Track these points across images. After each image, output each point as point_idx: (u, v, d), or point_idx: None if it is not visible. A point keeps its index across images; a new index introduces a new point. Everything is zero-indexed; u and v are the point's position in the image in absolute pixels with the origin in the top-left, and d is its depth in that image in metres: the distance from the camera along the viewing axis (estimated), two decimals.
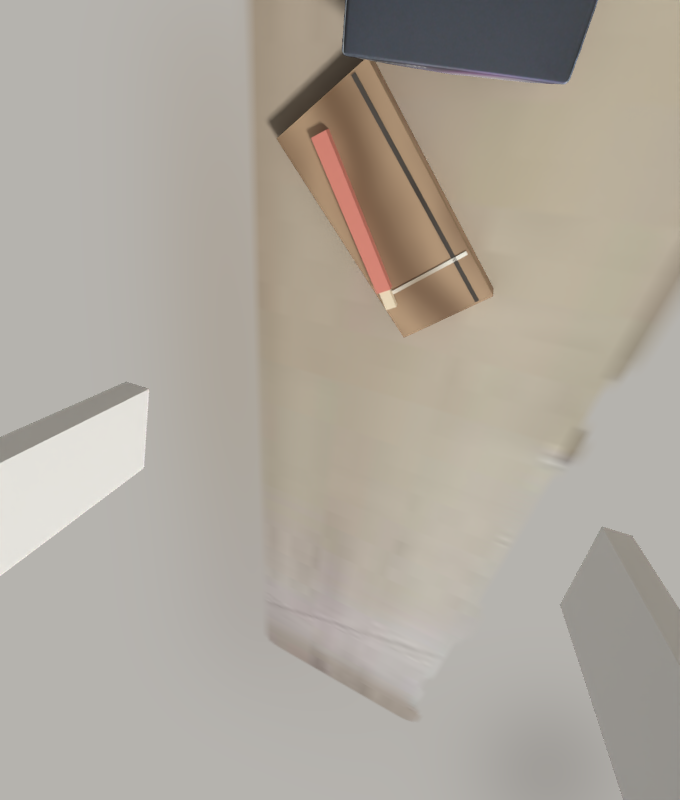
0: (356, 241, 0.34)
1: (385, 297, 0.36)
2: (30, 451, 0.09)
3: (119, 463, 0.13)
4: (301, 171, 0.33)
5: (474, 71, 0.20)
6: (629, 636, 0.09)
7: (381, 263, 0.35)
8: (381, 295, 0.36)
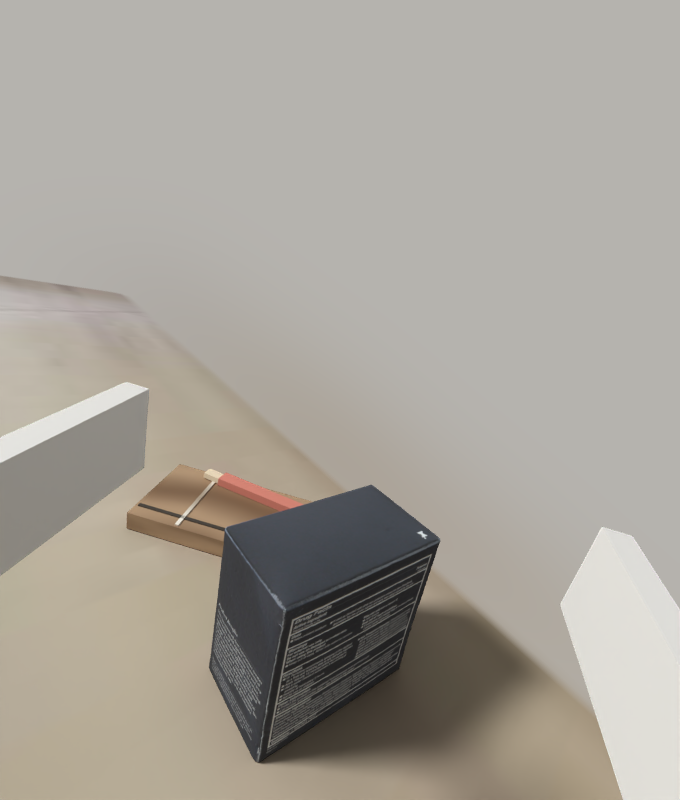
0: (267, 490, 0.40)
1: (217, 474, 0.41)
2: (30, 451, 0.09)
3: (119, 463, 0.13)
4: None
5: (291, 508, 0.25)
6: (629, 637, 0.09)
7: (238, 490, 0.40)
8: (221, 474, 0.41)
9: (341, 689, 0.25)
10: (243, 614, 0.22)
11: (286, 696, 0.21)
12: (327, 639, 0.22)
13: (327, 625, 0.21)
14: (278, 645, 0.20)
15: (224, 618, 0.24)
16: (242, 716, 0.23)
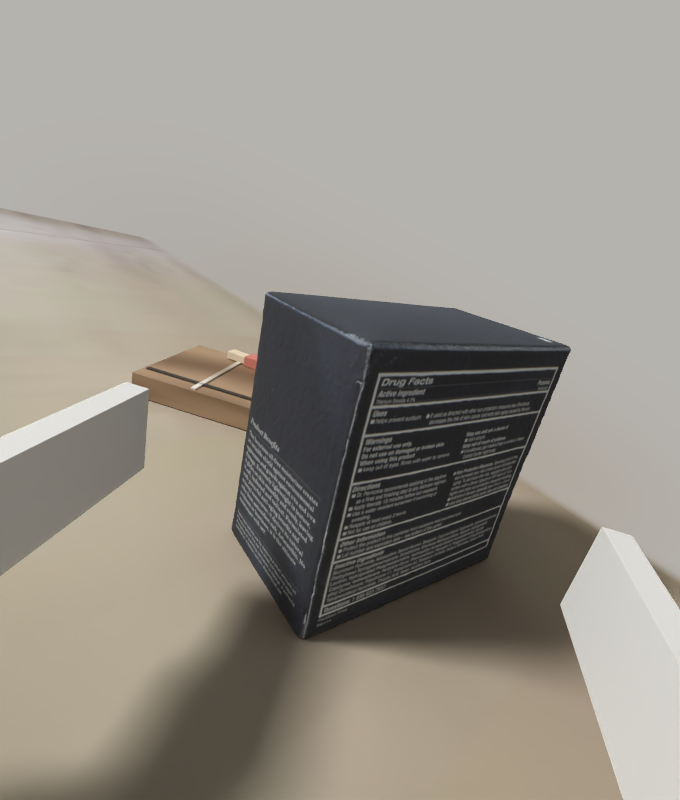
0: None
1: (244, 354, 0.34)
2: (30, 451, 0.09)
3: (119, 463, 0.13)
4: None
5: (356, 300, 0.18)
6: (628, 637, 0.09)
7: None
8: (248, 354, 0.34)
9: (422, 555, 0.17)
10: (292, 405, 0.14)
11: (353, 531, 0.14)
12: (418, 448, 0.14)
13: (422, 417, 0.14)
14: (353, 422, 0.12)
15: (259, 435, 0.16)
16: (281, 576, 0.16)
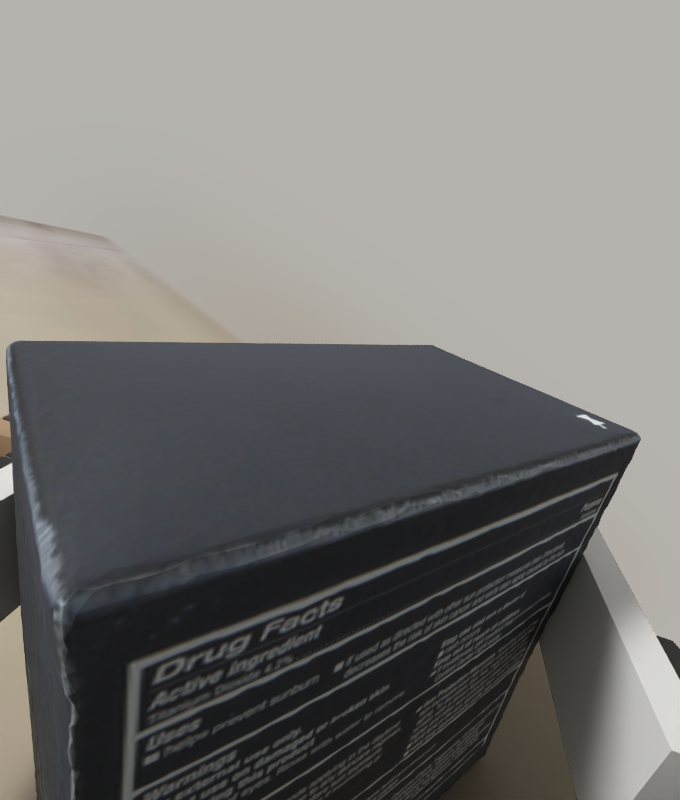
0: None
1: None
2: None
3: None
4: None
5: None
6: (575, 598, 0.10)
7: None
8: None
9: None
10: (28, 619, 0.06)
11: None
12: (323, 726, 0.06)
13: (323, 676, 0.05)
14: (72, 790, 0.04)
15: None
16: None
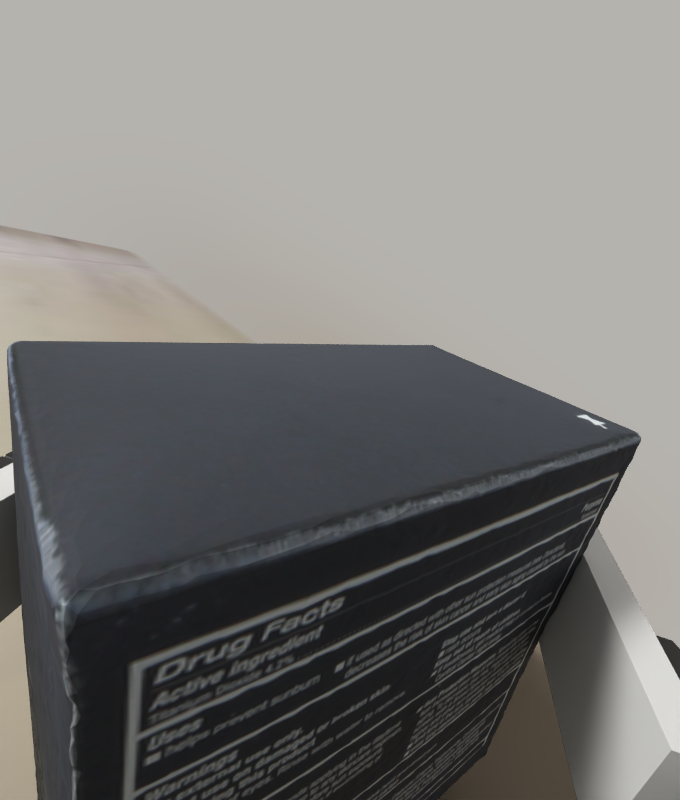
0: None
1: None
2: None
3: None
4: None
5: None
6: (575, 598, 0.10)
7: None
8: None
9: None
10: (29, 619, 0.06)
11: None
12: (324, 726, 0.06)
13: (324, 676, 0.05)
14: (74, 789, 0.04)
15: (23, 629, 0.08)
16: None
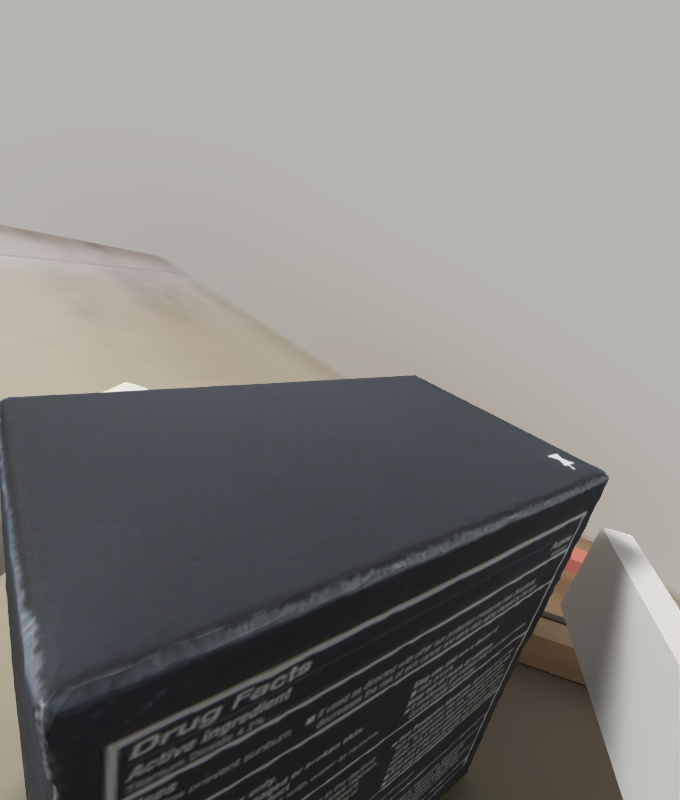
0: None
1: None
2: None
3: None
4: None
5: None
6: (629, 636, 0.09)
7: None
8: None
9: None
10: (17, 673, 0.06)
11: None
12: (297, 772, 0.06)
13: (295, 729, 0.06)
14: None
15: None
16: None
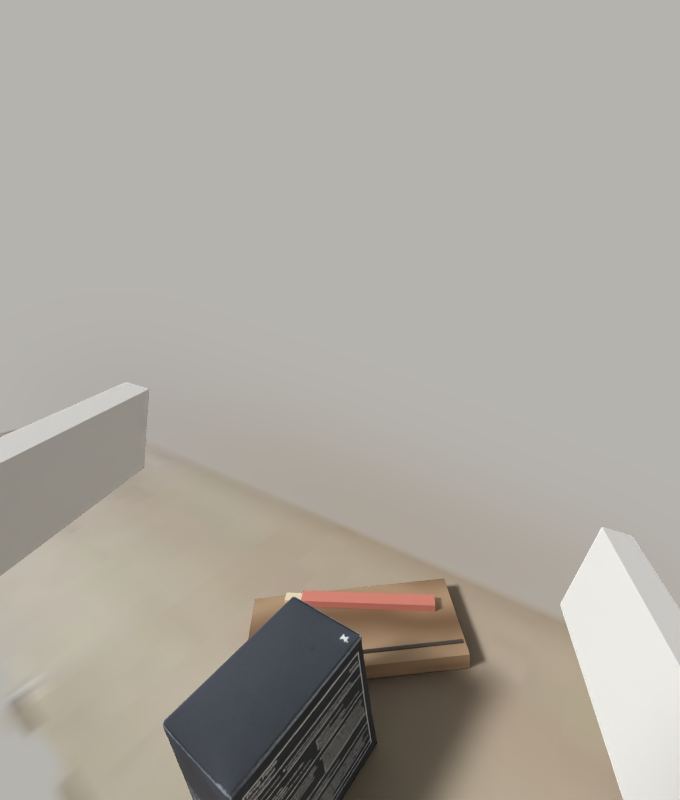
0: (350, 593, 0.41)
1: (297, 595, 0.42)
2: (30, 451, 0.09)
3: (119, 463, 0.13)
4: (416, 583, 0.42)
5: (222, 665, 0.27)
6: (629, 637, 0.09)
7: (323, 604, 0.41)
8: (300, 594, 0.42)
9: None
10: (206, 795, 0.23)
11: None
12: (288, 783, 0.24)
13: (281, 774, 0.23)
14: None
15: (195, 795, 0.25)
16: None
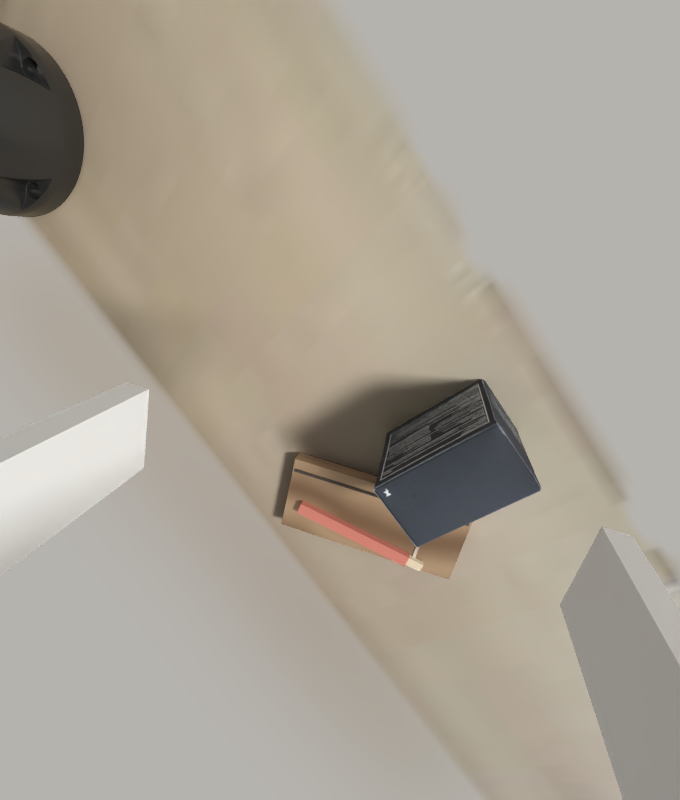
0: (364, 545, 0.45)
1: (411, 564, 0.45)
2: (30, 451, 0.09)
3: (119, 463, 0.13)
4: (306, 529, 0.47)
5: (489, 513, 0.33)
6: (629, 636, 0.09)
7: (390, 546, 0.45)
8: (407, 564, 0.45)
9: (433, 413, 0.39)
10: (513, 438, 0.33)
11: (475, 400, 0.36)
12: (456, 424, 0.34)
13: (460, 428, 0.33)
14: (493, 412, 0.32)
15: (521, 444, 0.35)
16: (494, 399, 0.39)
